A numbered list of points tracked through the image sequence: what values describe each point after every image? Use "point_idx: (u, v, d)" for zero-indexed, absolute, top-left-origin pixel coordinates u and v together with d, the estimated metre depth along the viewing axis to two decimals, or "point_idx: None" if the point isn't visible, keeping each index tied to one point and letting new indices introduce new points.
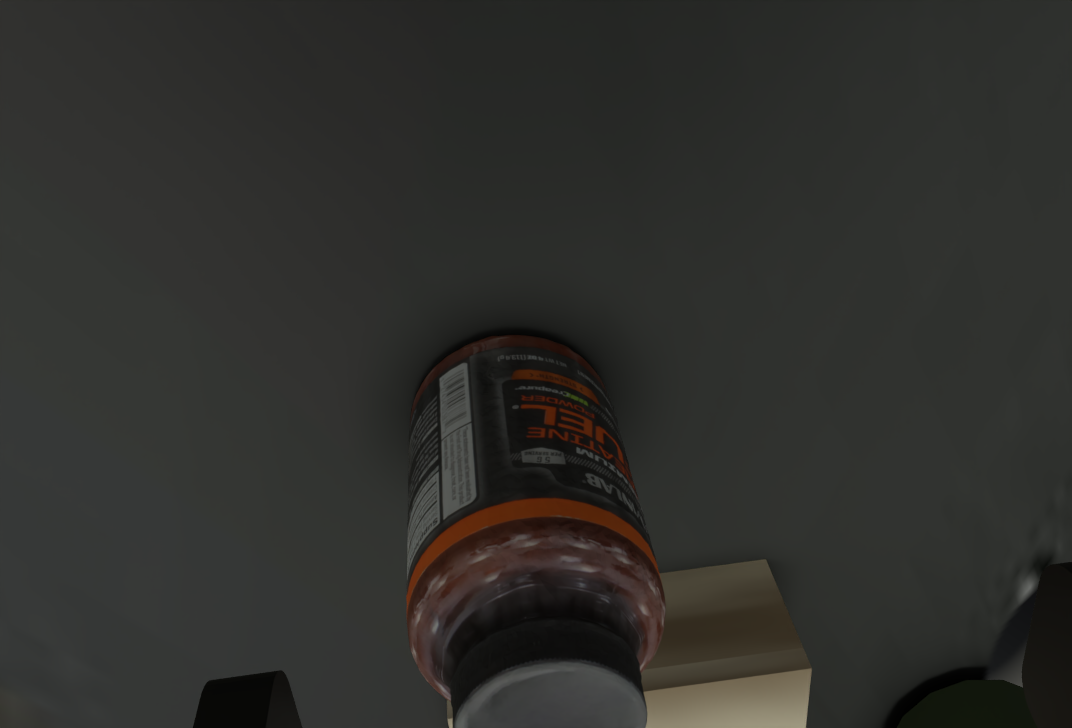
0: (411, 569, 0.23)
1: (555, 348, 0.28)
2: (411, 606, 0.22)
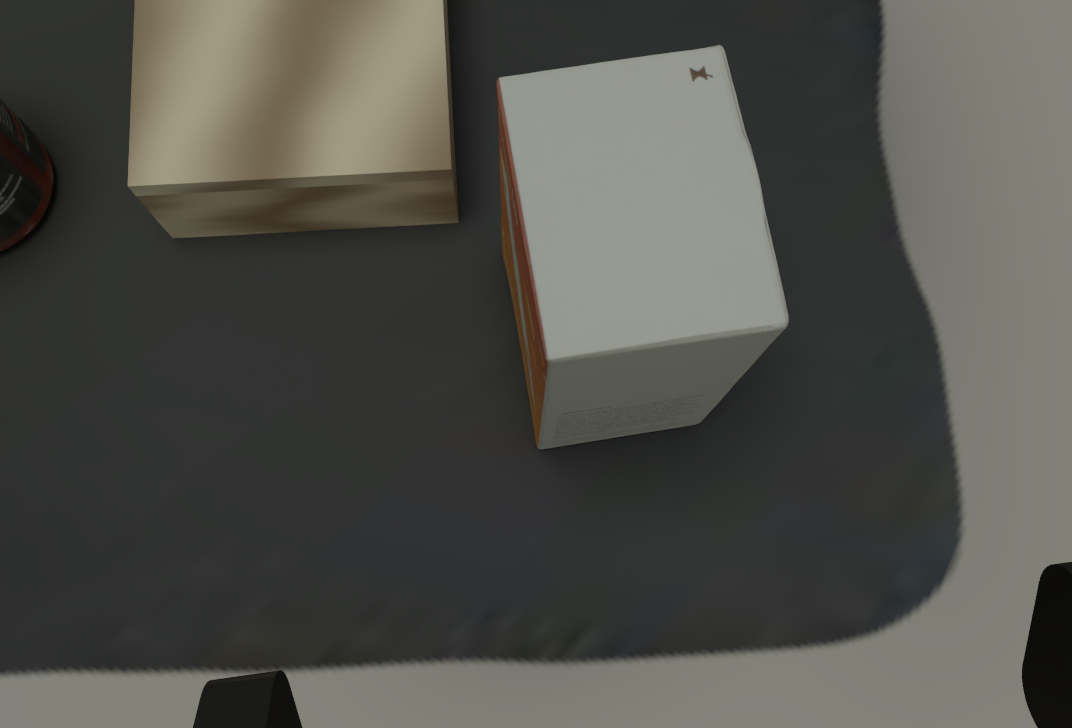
0: None
1: None
2: None
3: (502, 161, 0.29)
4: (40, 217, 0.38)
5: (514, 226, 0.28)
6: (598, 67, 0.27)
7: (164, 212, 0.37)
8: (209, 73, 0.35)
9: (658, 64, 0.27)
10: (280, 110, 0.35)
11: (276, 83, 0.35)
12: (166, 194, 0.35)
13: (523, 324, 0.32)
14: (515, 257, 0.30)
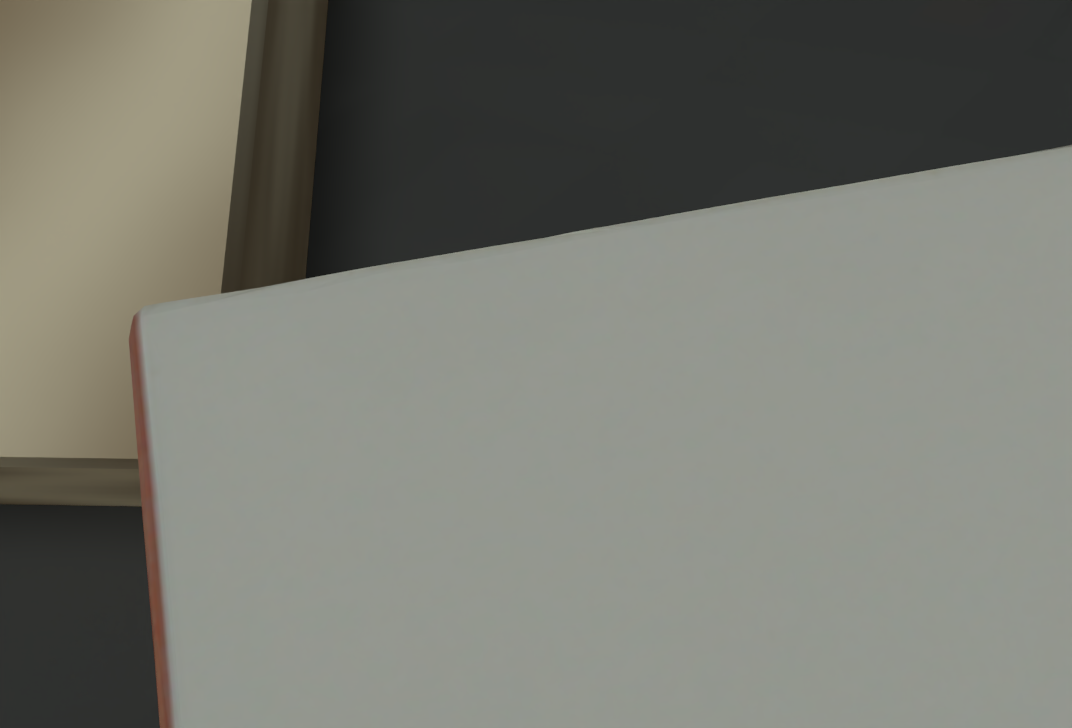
0: None
1: None
2: None
3: None
4: None
5: None
6: (659, 242, 0.05)
7: None
8: None
9: (969, 218, 0.05)
10: None
11: None
12: None
13: None
14: None
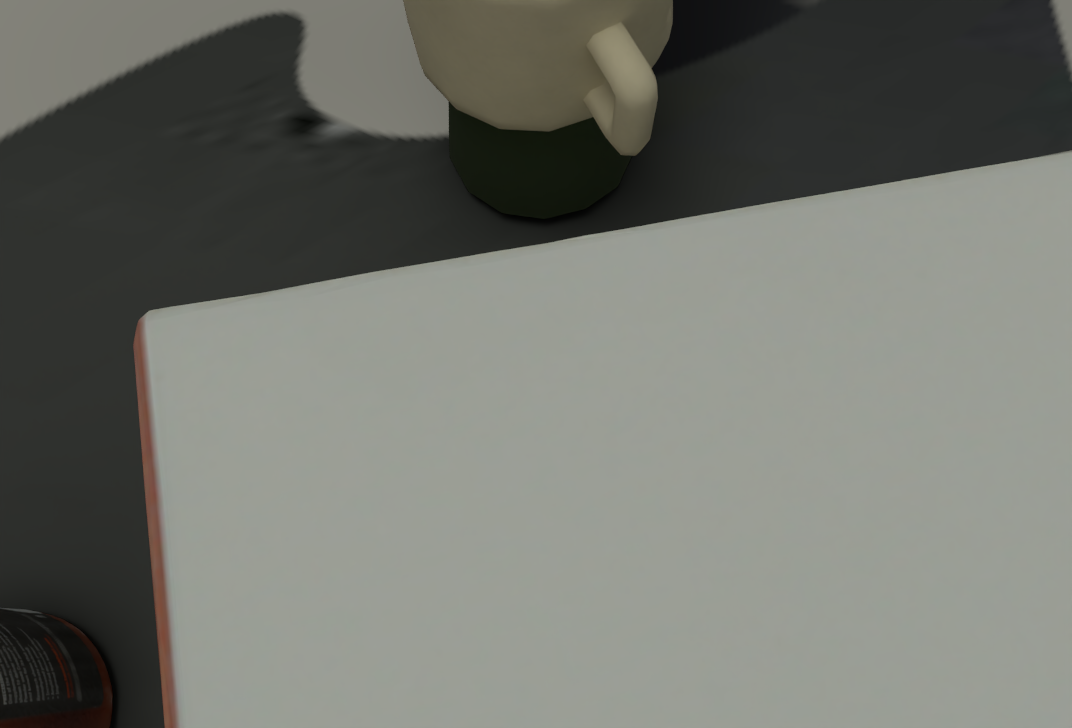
0: None
1: None
2: None
3: None
4: None
5: None
6: (665, 246, 0.05)
7: None
8: None
9: (975, 223, 0.05)
10: None
11: None
12: None
13: None
14: None
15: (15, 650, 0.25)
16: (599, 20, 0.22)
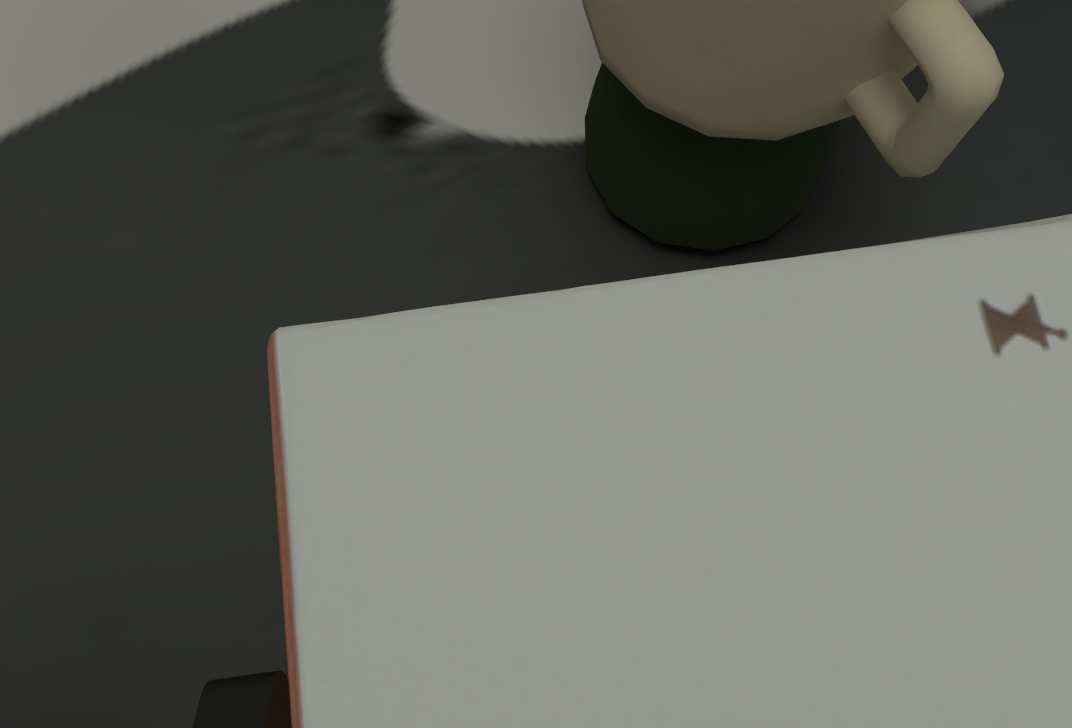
0: None
1: None
2: None
3: None
4: None
5: None
6: (641, 295, 0.07)
7: None
8: None
9: (862, 286, 0.07)
10: None
11: None
12: None
13: None
14: None
15: None
16: None
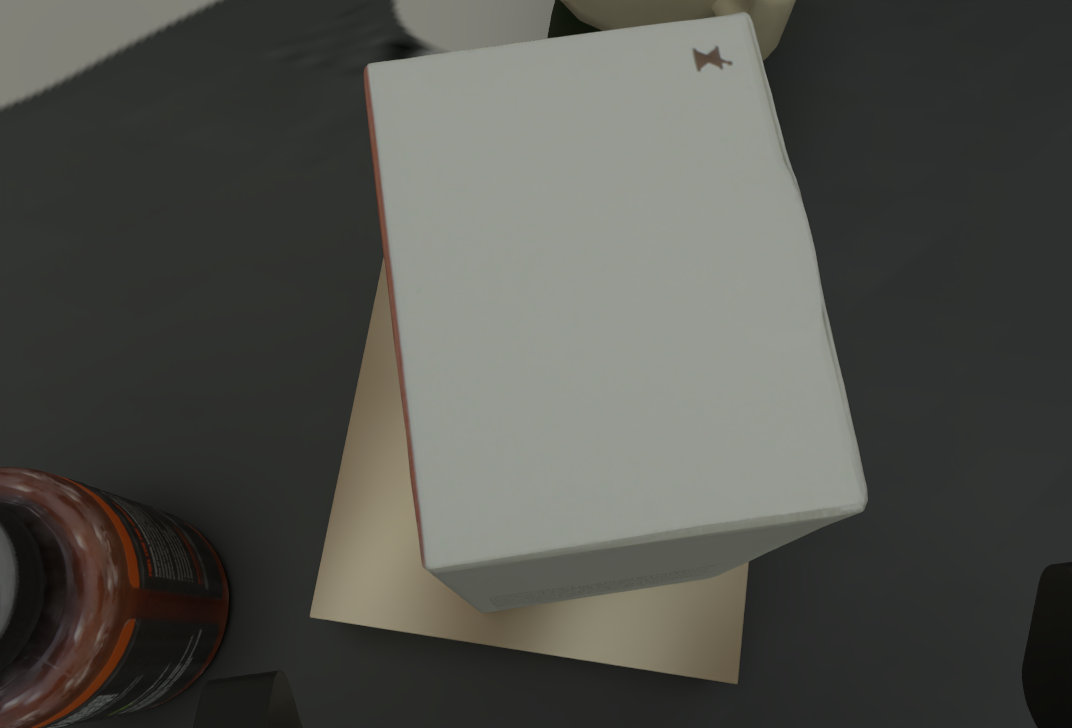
0: None
1: None
2: None
3: None
4: (215, 652, 0.30)
5: None
6: (537, 47, 0.16)
7: None
8: None
9: (639, 43, 0.16)
10: None
11: None
12: None
13: None
14: None
15: (157, 530, 0.26)
16: None
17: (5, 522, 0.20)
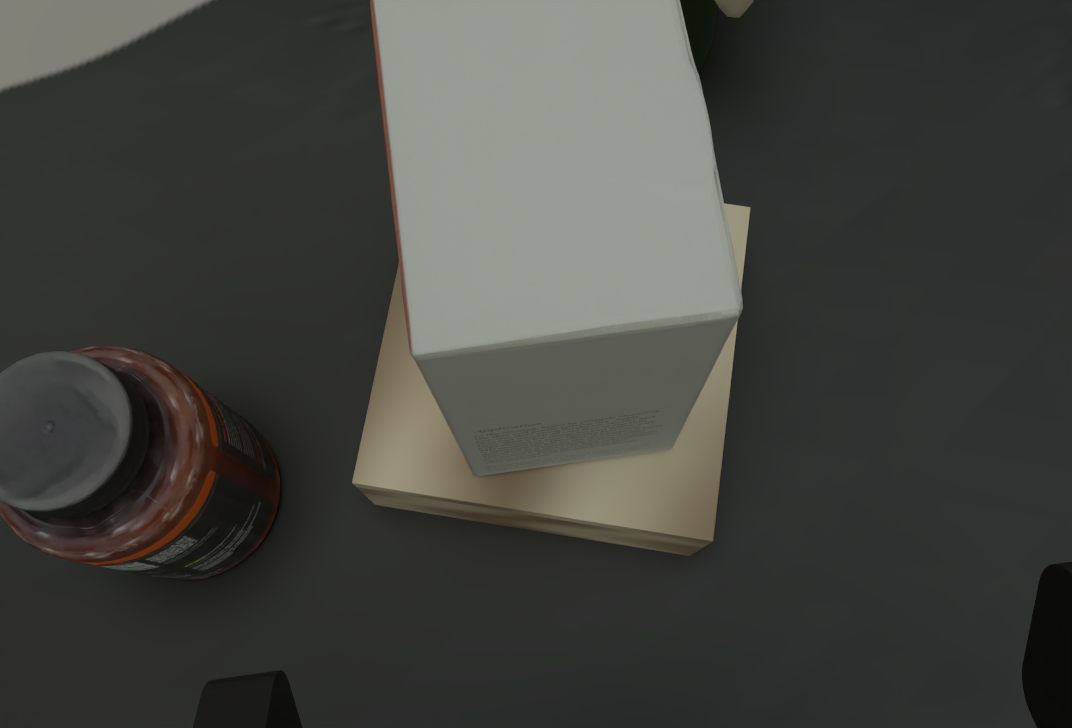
0: None
1: None
2: (59, 557, 0.26)
3: None
4: (268, 529, 0.34)
5: None
6: None
7: (378, 496, 0.33)
8: None
9: None
10: None
11: None
12: (389, 492, 0.31)
13: None
14: None
15: (226, 411, 0.31)
16: None
17: (119, 377, 0.25)
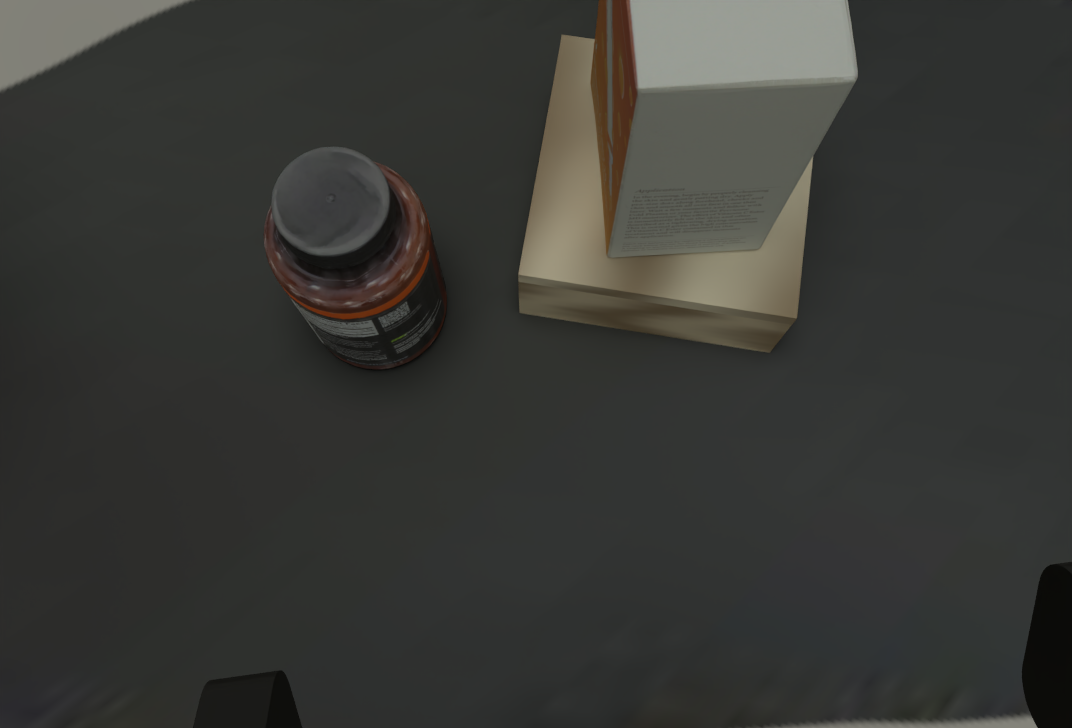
0: (327, 318, 0.36)
1: None
2: (323, 308, 0.35)
3: None
4: (439, 331, 0.43)
5: None
6: None
7: (530, 296, 0.42)
8: (601, 189, 0.41)
9: None
10: None
11: None
12: (544, 285, 0.40)
13: (609, 112, 0.35)
14: (610, 38, 0.33)
15: None
16: None
17: None
